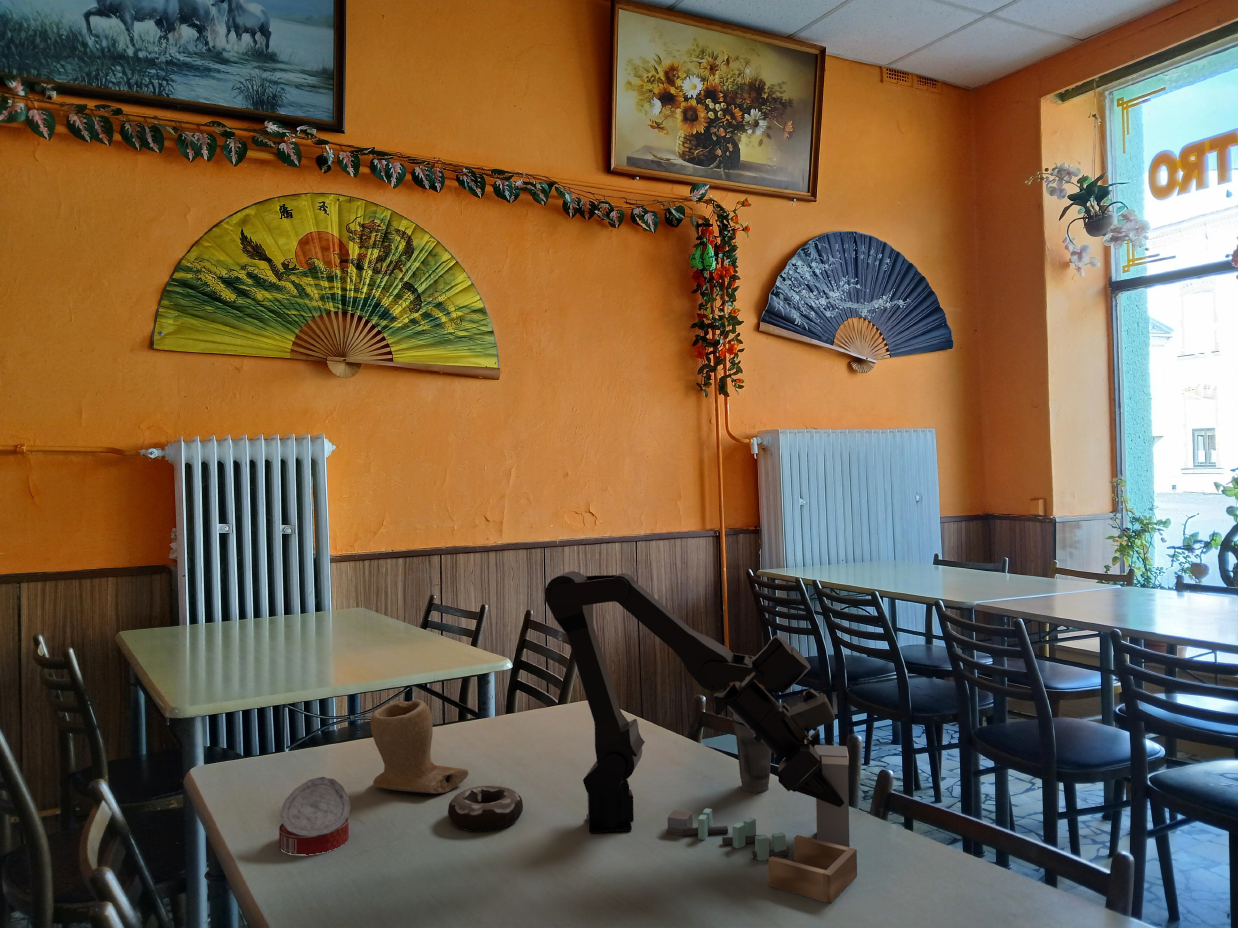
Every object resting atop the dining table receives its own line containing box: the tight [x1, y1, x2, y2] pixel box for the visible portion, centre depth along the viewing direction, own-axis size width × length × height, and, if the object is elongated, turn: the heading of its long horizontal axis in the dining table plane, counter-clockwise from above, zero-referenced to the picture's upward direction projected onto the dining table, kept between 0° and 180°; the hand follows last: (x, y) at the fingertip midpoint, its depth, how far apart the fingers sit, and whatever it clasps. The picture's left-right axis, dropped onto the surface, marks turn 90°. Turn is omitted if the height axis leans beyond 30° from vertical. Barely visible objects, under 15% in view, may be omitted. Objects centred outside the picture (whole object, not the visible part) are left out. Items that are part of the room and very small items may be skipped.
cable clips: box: [697, 807, 787, 861], centre depth 129 cm, size 6×14×3 cm, turn 46°
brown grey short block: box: [667, 809, 694, 837], centre depth 134 cm, size 3×3×2 cm
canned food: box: [278, 776, 352, 855], centre depth 133 cm, size 11×10×10 cm
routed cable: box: [682, 825, 790, 859], centre depth 129 cm, size 13×10×1 cm
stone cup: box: [370, 699, 470, 794], centre depth 154 cm, size 15×12×15 cm
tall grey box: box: [814, 744, 851, 848], centre depth 130 cm, size 5×5×13 cm
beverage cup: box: [732, 676, 772, 793], centre depth 151 cm, size 7×7×20 cm
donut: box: [447, 784, 524, 832], centre depth 140 cm, size 12×12×4 cm
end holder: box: [768, 834, 858, 904], centre depth 117 cm, size 8×9×4 cm
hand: (840, 792), depth 130 cm, fingers open, 9 cm apart
